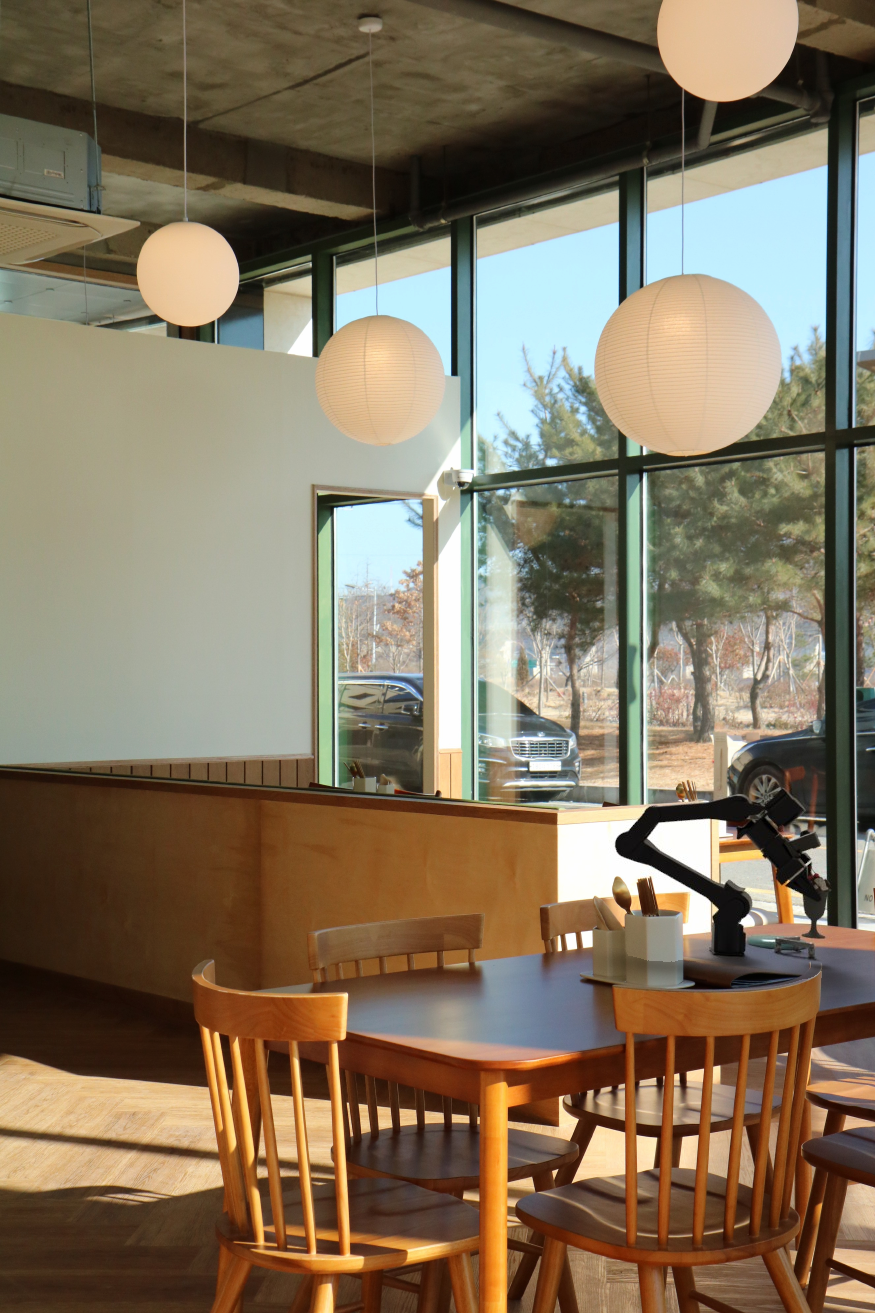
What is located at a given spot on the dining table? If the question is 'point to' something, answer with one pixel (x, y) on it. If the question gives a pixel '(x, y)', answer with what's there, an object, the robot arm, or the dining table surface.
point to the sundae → (816, 904)
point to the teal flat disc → (767, 941)
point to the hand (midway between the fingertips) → (821, 898)
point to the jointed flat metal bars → (795, 945)
